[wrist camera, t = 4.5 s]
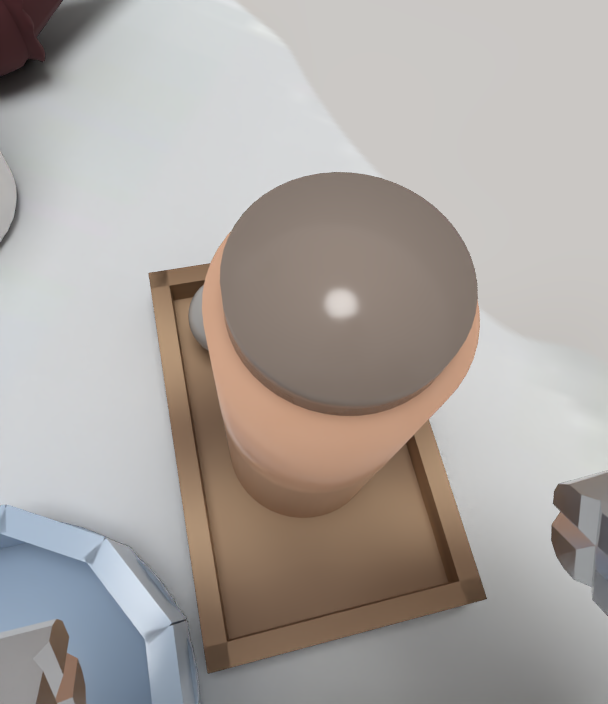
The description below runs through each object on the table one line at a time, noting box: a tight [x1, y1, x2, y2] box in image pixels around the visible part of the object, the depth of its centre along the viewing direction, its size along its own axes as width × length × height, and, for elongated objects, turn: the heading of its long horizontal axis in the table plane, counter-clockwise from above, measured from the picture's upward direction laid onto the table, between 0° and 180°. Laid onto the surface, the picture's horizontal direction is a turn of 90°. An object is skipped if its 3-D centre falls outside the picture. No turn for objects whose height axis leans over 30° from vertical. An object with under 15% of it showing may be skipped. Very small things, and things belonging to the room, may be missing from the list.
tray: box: [149, 263, 487, 674], centre depth 21 cm, size 14×9×2 cm, turn 13°
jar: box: [202, 172, 480, 518], centre depth 16 cm, size 5×5×12 cm
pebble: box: [188, 285, 209, 351], centre depth 21 cm, size 3×3×3 cm
